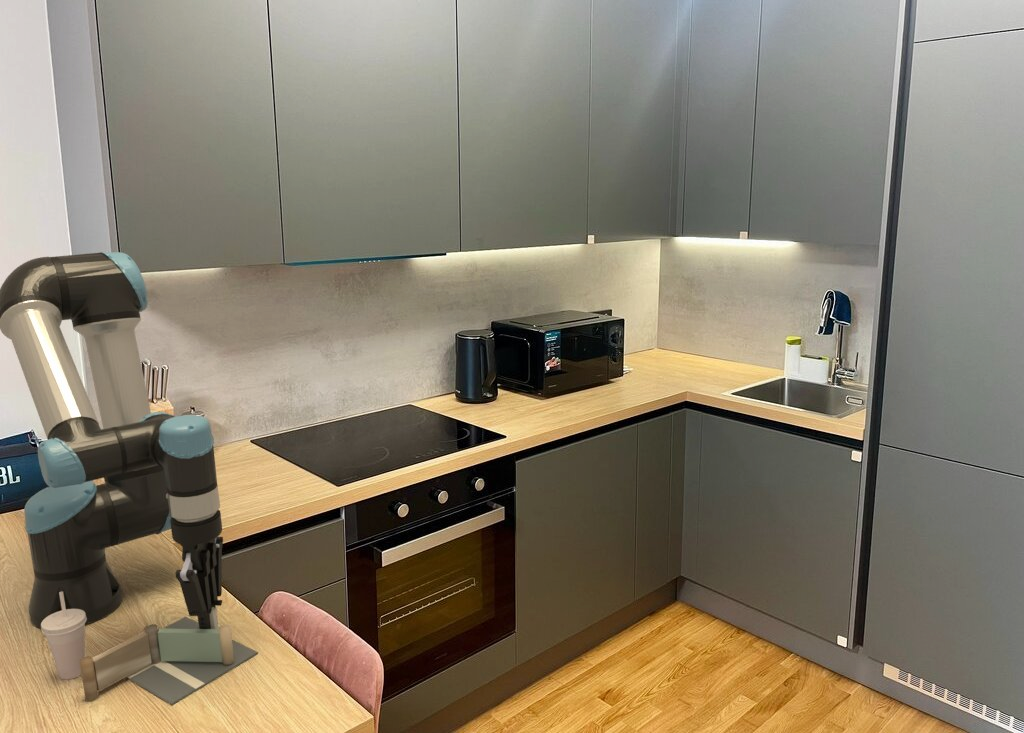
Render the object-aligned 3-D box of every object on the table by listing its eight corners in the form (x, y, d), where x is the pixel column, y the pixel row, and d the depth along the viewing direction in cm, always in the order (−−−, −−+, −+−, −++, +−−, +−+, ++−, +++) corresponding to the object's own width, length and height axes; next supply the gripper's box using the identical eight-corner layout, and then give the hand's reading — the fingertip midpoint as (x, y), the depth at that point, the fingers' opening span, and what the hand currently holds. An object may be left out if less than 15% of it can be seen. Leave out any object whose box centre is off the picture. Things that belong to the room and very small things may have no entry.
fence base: (82, 698, 125) (76, 660, 124) (157, 657, 135) (152, 622, 134) (89, 703, 124) (83, 664, 123) (164, 661, 134) (160, 626, 133)
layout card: (99, 662, 135) (99, 660, 134) (185, 618, 147) (185, 616, 147) (171, 705, 124) (171, 703, 123) (258, 653, 136) (257, 651, 136)
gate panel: (160, 663, 133) (156, 630, 132) (165, 657, 135) (161, 624, 133) (231, 664, 132) (228, 631, 131) (236, 658, 134) (232, 625, 133)
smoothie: (101, 660, 135) (89, 583, 132) (83, 684, 129) (70, 604, 126) (61, 661, 135) (49, 584, 132) (41, 685, 129) (27, 605, 125)
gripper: (189, 496, 136) (204, 622, 142) (152, 530, 124) (170, 667, 130) (234, 496, 136) (247, 623, 142) (201, 531, 123) (216, 668, 129)
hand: (210, 644), depth 136 cm, fingers closed
